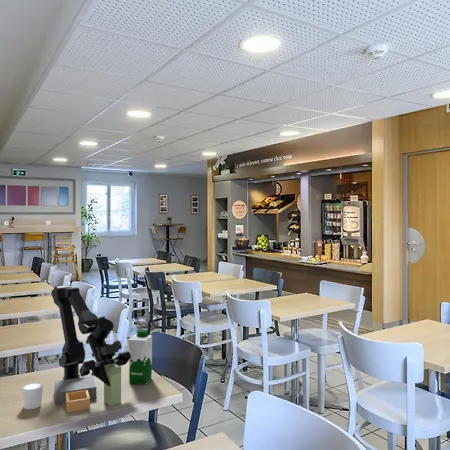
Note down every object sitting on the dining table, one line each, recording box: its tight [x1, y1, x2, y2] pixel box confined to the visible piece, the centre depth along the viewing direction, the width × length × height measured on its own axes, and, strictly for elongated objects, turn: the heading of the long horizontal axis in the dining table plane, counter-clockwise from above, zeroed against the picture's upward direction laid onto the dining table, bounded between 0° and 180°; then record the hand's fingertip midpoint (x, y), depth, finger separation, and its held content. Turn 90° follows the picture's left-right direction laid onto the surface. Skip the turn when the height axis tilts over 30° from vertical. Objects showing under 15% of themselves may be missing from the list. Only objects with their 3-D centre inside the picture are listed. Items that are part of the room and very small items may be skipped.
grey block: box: [54, 375, 97, 413], centre depth 157 cm, size 21×14×4 cm
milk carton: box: [128, 329, 153, 385], centre depth 175 cm, size 9×9×20 cm
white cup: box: [21, 382, 44, 410], centre depth 151 cm, size 7×7×7 cm
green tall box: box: [103, 364, 122, 407], centre depth 154 cm, size 5×4×13 cm
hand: (114, 383), depth 153 cm, fingers closed on green tall box, 4 cm apart
